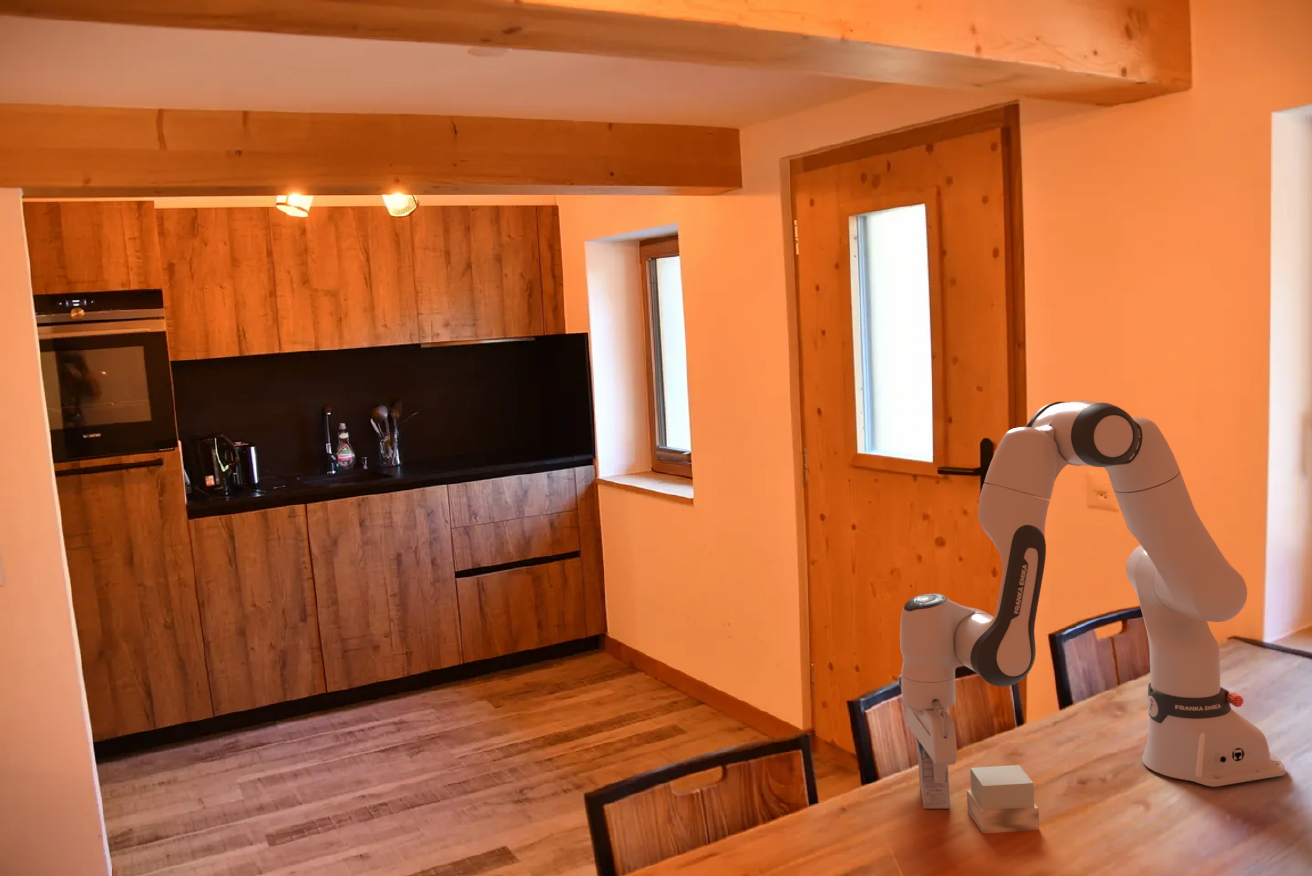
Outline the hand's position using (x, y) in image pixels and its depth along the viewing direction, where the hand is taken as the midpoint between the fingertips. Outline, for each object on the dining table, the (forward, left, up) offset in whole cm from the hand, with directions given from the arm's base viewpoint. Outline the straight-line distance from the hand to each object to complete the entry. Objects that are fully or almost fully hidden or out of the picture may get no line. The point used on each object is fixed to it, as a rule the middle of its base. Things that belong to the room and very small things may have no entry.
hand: (931, 769), depth 179 cm
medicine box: (0, 0, -6) cm, 6 cm away
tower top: (-9, +9, -2) cm, 13 cm away
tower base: (-9, +9, -6) cm, 14 cm away
